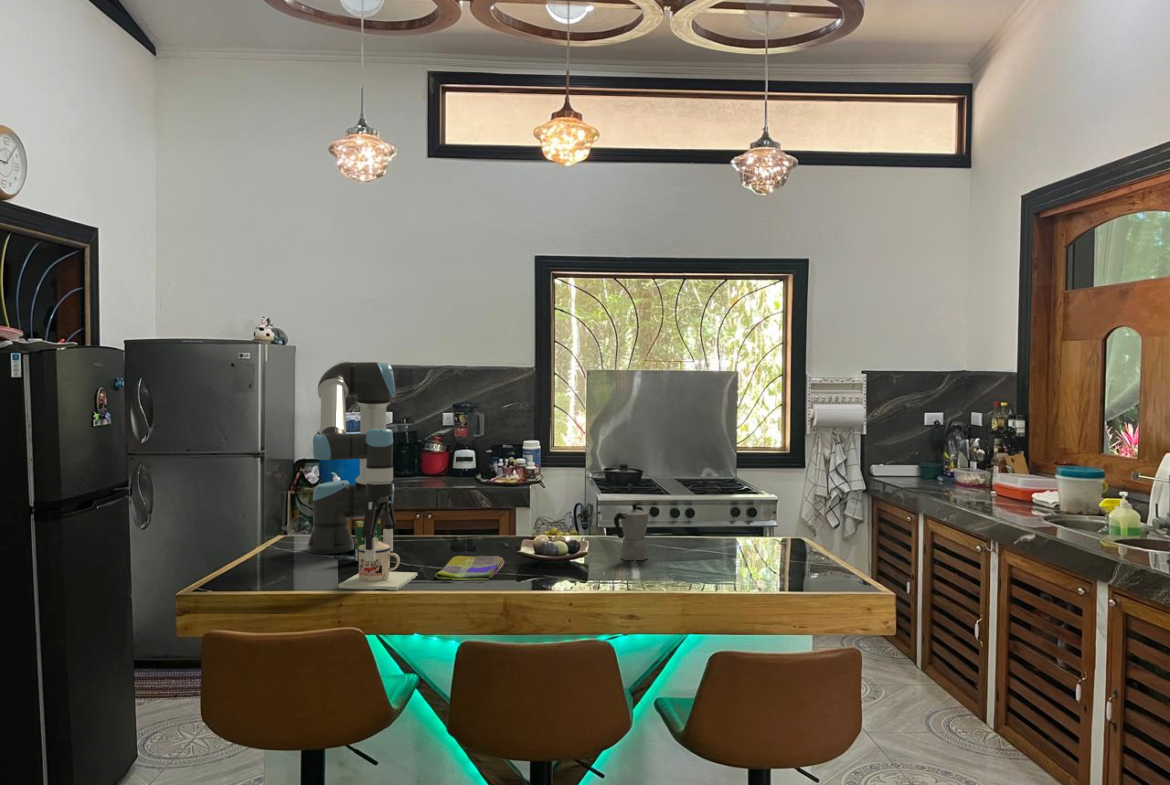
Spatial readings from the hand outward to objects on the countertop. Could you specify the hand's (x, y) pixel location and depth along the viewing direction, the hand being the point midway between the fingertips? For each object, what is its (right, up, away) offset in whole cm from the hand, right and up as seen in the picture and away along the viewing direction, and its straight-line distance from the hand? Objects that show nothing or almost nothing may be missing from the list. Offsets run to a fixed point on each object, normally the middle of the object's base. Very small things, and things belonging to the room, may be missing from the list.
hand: (379, 555), depth 237 cm
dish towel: (+24, -8, +15) cm, 30 cm away
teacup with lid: (0, -7, 0) cm, 7 cm away
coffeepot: (+75, -8, +33) cm, 82 cm away
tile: (0, -8, 0) cm, 8 cm away
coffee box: (-11, -7, +28) cm, 31 cm away
